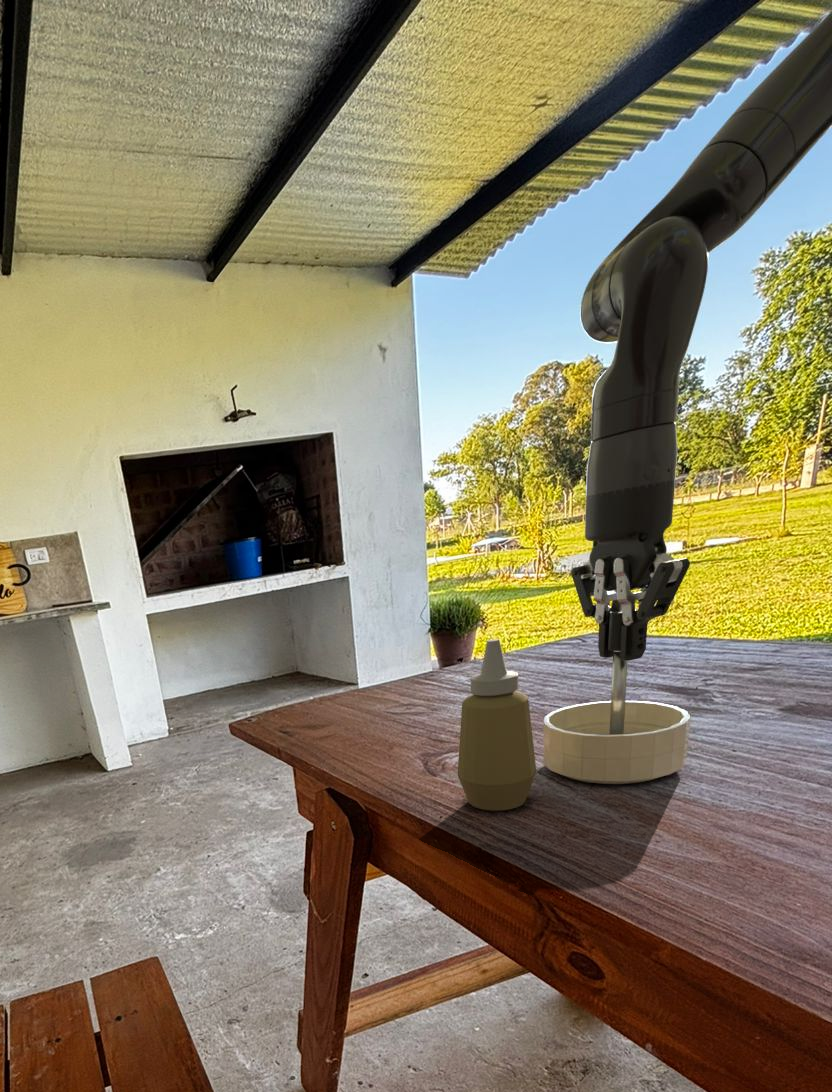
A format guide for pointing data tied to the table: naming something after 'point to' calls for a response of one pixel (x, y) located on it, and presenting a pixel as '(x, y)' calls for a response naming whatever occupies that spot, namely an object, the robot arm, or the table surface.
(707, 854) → the table surface
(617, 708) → the rod on round base
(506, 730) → the squeeze bottle
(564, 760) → the bowl
